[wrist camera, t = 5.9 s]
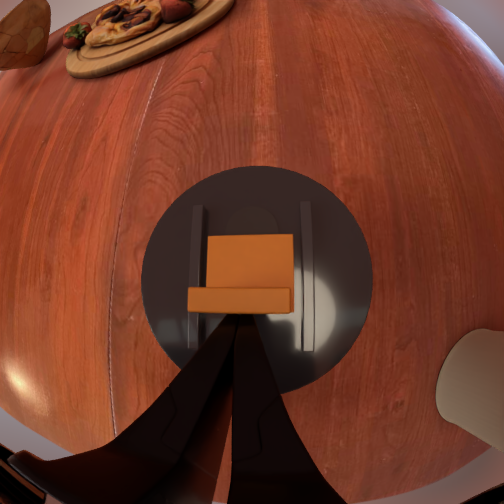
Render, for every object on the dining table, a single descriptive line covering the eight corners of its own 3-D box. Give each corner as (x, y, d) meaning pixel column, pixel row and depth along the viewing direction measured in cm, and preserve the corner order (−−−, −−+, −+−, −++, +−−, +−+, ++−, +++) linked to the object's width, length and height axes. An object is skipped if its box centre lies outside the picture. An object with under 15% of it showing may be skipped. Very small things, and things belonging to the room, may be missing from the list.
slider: (293, 312, 11) (298, 313, 8) (208, 311, 11) (180, 311, 8) (292, 236, 12) (295, 209, 9) (210, 238, 12) (185, 214, 9)
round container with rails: (336, 359, 19) (374, 395, 10) (195, 357, 20) (134, 386, 11) (333, 219, 21) (363, 159, 12) (199, 223, 22) (147, 169, 13)
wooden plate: (44, 103, 31) (18, 78, 23) (112, 10, 37) (99, -12, 29) (217, 57, 26) (202, 5, 18) (246, -21, 33) (240, -51, 25)
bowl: (41, 46, 40) (10, 9, 21) (85, 24, 37) (52, -25, 18) (1, 101, 37) (-40, 65, 17) (37, 83, 34) (-12, 32, 14)
